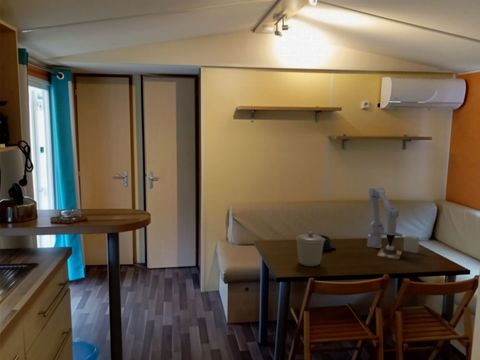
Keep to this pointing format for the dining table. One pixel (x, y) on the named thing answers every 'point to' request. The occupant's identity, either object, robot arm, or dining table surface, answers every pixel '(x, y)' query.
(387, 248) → the white round cylinder
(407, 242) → the photo printer
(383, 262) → the dining table surface
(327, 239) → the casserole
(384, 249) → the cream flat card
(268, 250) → the dining table surface
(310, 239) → the canister
